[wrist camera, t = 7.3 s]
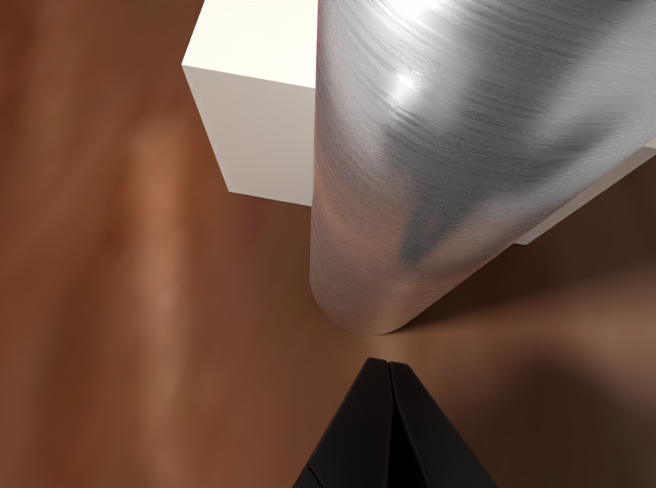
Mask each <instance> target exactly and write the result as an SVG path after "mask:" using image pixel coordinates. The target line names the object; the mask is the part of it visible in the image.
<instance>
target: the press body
mask: <svg viewBox="0 0 656 488" xmlns="http://www.w3.org/2000/svg"><path fill="white" fill-rule="evenodd" d="M317 12H318V0H205V2H204V5H203V7H202V10H201V13H200V16H199V18H198V21H197V24H196V26H195V29H194V32H193V35H192V37H191V40H190V43H189V46H188V48H187V51H186V54H185V56H184V59H183V62H182V67H183V70H184V73H185V75H186V78H187V81H188V83H189V86H190V89H191V91H192V94H193V97H194V100H195V102H196V105H197V108H198V110H199V113H200V116H201V118H202V121H203V124H204V126H205V129H206V132H207V134H208V137H209V140H210V142H211V145H212V148H213V150H214V153H215V156H216V159H217V161H218V164H219V167H220V169H221V172H222V175H223V177H224V180H225V183H226V185H227V188H228V191H229V192H234V193H240V194H245V195H251V196H256V197H262V198H267V199H273V200H279V201H284V202H290V203H295V204H301V205H306V206H312V180H313V146H314V113H315V79H316V45H317ZM654 155H656V137H655V138H654V139H652V140H651V141H649V142H648V143H647V144H645V145H644V146H643V147H641V148H640V149H639V150H637V151H636V152H635V153H633V154H632V155H631V156H629V157H628V158H627V159H625V160H624V161H623V162H621V163H620V164H619V165H617V166H616V167H615V168H613V169H612V170H611V171H609V172H608V173H607V174H605V175H604V176H603V177H601V178H600V179H599V180H597V181H596V182H595V183H593V184H592V185H591V186H589V187H588V188H587V189H585V190H584V191H583V192H581V193H580V194H579V195H577V196H576V197H575V198H573V199H572V200H571V201H569V202H568V203H567V204H565V205H564V206H563V207H561V208H560V209H559V210H557V211H556V212H555V213H553V214H552V215H551V216H549V217H548V218H547V219H545V220H544V221H543V222H541V223H540V224H539V225H537V226H536V227H535V228H533V229H532V230H531V231H529V232H528V233H527V234H525V235H524V236H523V237H521V238H520V239H519V240H517V241H516V242H515V243H517V244H522V245H527V244H528V243H530V242H531V241H533V240H534V239H535V238H537V237H538V236H540V235H541V234H543V233H544V232H545V231H547V230H548V229H550V228H551V227H553V226H554V225H555V224H557V223H558V222H560V221H561V220H563V219H564V218H566V217H567V216H568V215H570V214H571V213H573V212H574V211H576V210H577V209H578V208H580V207H581V206H583V205H584V204H586V203H587V202H588V201H590V200H591V199H593V198H594V197H596V196H597V195H598V194H600V193H601V192H603V191H604V190H606V189H607V188H608V187H610V186H611V185H613V184H614V183H616V182H617V181H619V180H620V179H621V178H623V177H624V176H626V175H627V174H629V173H630V172H631V171H633V170H634V169H636V168H637V167H639V166H640V165H641V164H643V163H644V162H646V161H647V160H649V159H650V158H651V157H653V156H654Z"/></svg>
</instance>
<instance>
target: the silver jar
mask: <svg viewBox="0 0 656 488" xmlns="http://www.w3.org/2000/svg"><path fill="white" fill-rule="evenodd" d="M655 137H656V0H318V12H317V45H316V79H315V113H314V146H313V180H312V214H311V248H310V284H311V289H312V293H313V296H314V298H315V300H316V302H317V304H318V306H319V307H320V309H321V310H322V311H323V313H324V314H325V315H326V316H327V317H328V318H329V319H330V320H331V321H332V322H334V323H335V324H336V325H338V326H340V327H341V328H343V329H345V330H348V331H350V332H353V333H357V334H362V335H380V334H385V333H389V332H392V331H394V330H396V329H399V328H400V327H402V326H403V325H405V324H406V323H408V322H409V321H410V320H412V319H413V318H414V317H416V316H417V315H418V314H420V313H421V312H422V311H424V310H425V309H426V308H428V307H429V306H430V305H432V304H433V303H434V302H436V301H437V300H438V299H440V298H441V297H443V296H444V295H445V294H447V293H448V292H449V291H451V290H452V289H453V288H455V287H456V286H457V285H459V284H460V283H461V282H463V281H464V280H465V279H467V278H468V277H469V276H471V275H472V274H473V273H475V272H476V271H477V270H479V269H480V268H481V267H483V266H484V265H485V264H487V263H488V262H489V261H491V260H492V259H493V258H495V257H496V256H497V255H499V254H500V253H501V252H503V251H504V250H505V249H507V248H508V247H509V246H511V245H512V244H513V243H515V242H516V241H517V240H519V239H520V238H521V237H523V236H524V235H525V234H527V233H528V232H529V231H531V230H532V229H533V228H535V227H536V226H537V225H539V224H540V223H541V222H543V221H544V220H545V219H547V218H548V217H549V216H551V215H552V214H553V213H555V212H556V211H557V210H559V209H560V208H561V207H563V206H564V205H565V204H567V203H568V202H569V201H571V200H572V199H573V198H575V197H576V196H577V195H579V194H580V193H581V192H583V191H584V190H585V189H587V188H588V187H589V186H591V185H592V184H593V183H595V182H596V181H597V180H599V179H600V178H601V177H603V176H604V175H605V174H607V173H608V172H609V171H611V170H612V169H613V168H615V167H616V166H617V165H619V164H620V163H621V162H623V161H624V160H625V159H627V158H628V157H629V156H631V155H632V154H633V153H635V152H636V151H637V150H639V149H640V148H641V147H643V146H644V145H645V144H647V143H648V142H649V141H651V140H652V139H654V138H655Z"/></svg>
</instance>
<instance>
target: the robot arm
mask: <svg viewBox="0 0 656 488" xmlns="http://www.w3.org/2000/svg"><path fill="white" fill-rule="evenodd" d="M292 488H499V487H498V486H497V484H496V483H495V482H494V480H493V479H492V478H491V476H490V475H489V474H488V472H487V471H486V469H485V468H484V467H483V465H482V464H481V463H480V461H479V460H478V459H477V457H476V456H475V455H474V453H473V452H472V450H471V449H470V448H469V446H468V445H467V444H466V442H465V441H464V440H463V438H462V437H461V435H460V434H459V433H458V431H457V430H456V429H455V427H454V426H453V425H452V423H451V422H450V421H449V419H448V418H447V416H446V415H445V414H444V412H443V411H442V410H441V408H440V407H439V406H438V404H437V403H436V401H435V400H434V399H433V397H432V396H431V395H430V393H429V392H428V391H427V389H426V388H425V387H424V385H423V384H422V382H421V381H420V380H419V378H418V377H417V376H416V374H415V373H414V372H413V370H412V369H411V367H410V366H409V365H407V364H404V363H399V362H393V361H390V362H387V361H386V360H383V359H377V358H372V357H369V358H368V359H367V360H366V362H365V363H364V365H363V367H362V369H361V370H360V372H359V374H358V375H357V377H356V379H355V381H354V382H353V384H352V386H351V388H350V389H349V391H348V393H347V394H346V396H345V398H344V400H343V401H342V403H341V405H340V406H339V408H338V410H337V412H336V413H335V415H334V417H333V419H332V420H331V422H330V424H329V425H328V427H327V429H326V431H325V432H324V434H323V436H322V437H321V439H320V441H319V443H318V444H317V446H316V448H315V450H314V451H313V453H312V455H311V456H310V458H309V460H308V462H307V463H306V466H305V467H304V468H303V470H302V471H301V473H300V475H299V477H298V478H297V480H296V482H295V483H294V485H293V486H292Z"/></svg>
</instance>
